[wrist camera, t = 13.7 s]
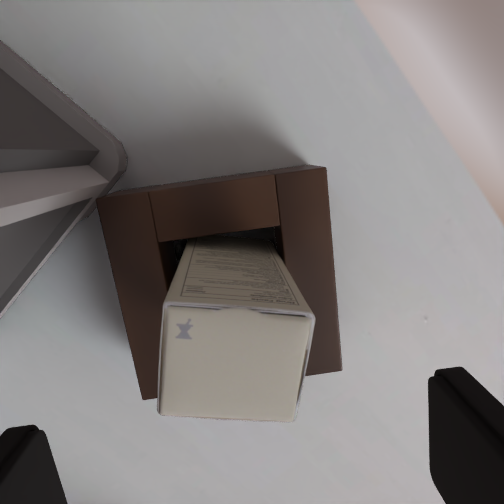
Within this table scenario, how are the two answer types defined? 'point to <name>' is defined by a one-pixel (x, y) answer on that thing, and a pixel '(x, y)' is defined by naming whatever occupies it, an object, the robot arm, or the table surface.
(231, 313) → the box
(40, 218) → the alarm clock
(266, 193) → the square wooden holder
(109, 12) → the table surface
